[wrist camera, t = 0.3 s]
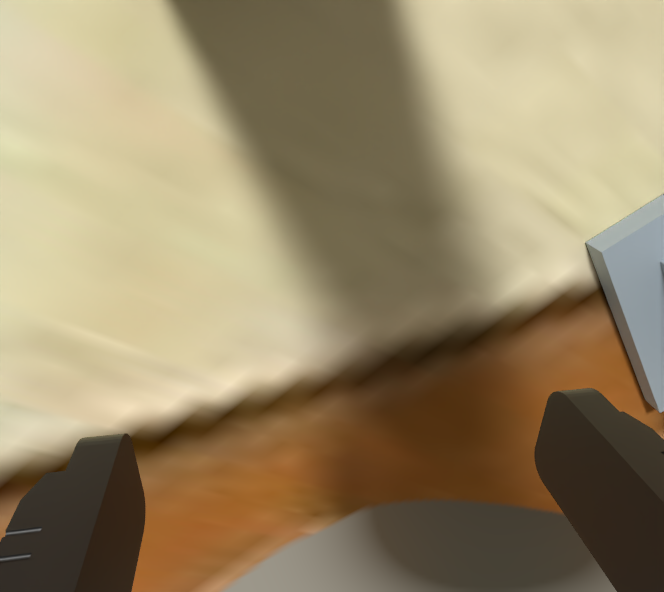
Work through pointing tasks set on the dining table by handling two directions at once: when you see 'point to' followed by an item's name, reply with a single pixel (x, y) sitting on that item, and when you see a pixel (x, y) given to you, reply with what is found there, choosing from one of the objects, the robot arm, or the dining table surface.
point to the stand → (637, 291)
